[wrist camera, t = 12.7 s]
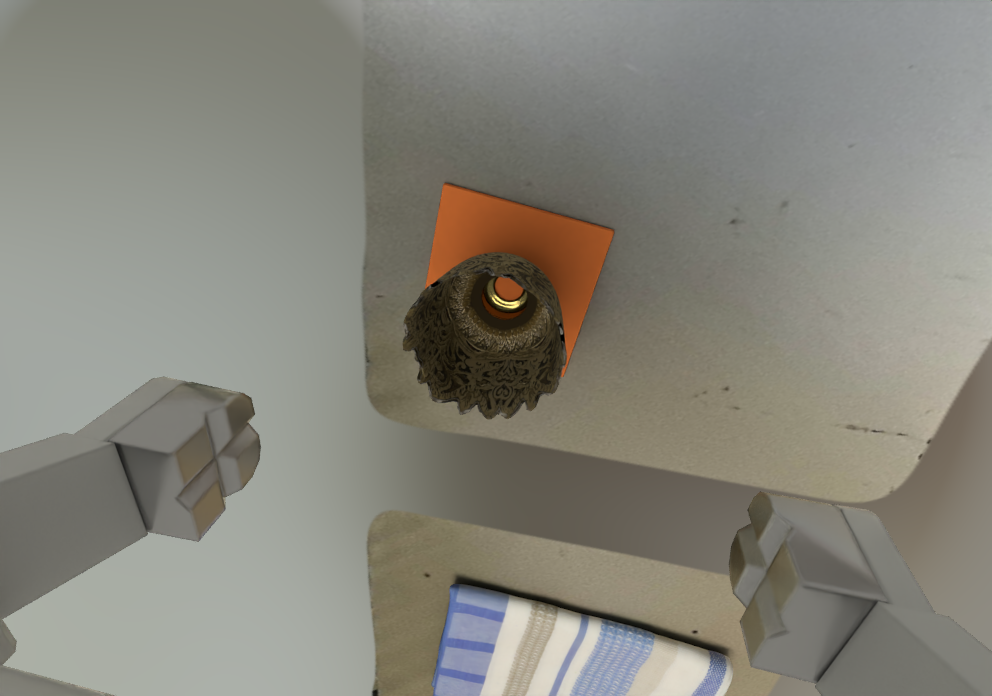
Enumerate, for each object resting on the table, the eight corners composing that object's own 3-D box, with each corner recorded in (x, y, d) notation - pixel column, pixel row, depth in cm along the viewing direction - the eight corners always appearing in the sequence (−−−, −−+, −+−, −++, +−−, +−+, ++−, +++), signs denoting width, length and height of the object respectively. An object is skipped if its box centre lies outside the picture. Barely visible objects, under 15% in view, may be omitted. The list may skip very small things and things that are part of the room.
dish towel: (666, 751, 50) (670, 786, 48) (430, 682, 52) (422, 712, 49) (740, 649, 42) (748, 685, 39) (454, 569, 43) (445, 599, 41)
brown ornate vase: (431, 235, 30) (379, 288, 23) (560, 210, 28) (546, 259, 21) (465, 351, 33) (428, 427, 26) (583, 335, 31) (577, 413, 24)
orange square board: (445, 182, 28) (443, 184, 28) (614, 229, 28) (614, 231, 28) (418, 331, 33) (417, 334, 33) (563, 374, 33) (563, 377, 32)
